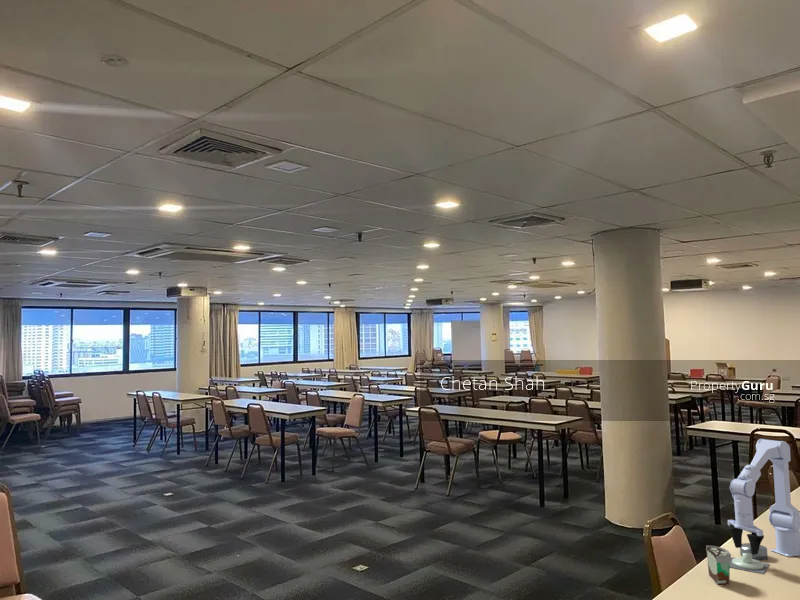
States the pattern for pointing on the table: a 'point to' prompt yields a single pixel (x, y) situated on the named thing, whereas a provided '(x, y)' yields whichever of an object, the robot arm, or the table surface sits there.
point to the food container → (718, 564)
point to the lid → (747, 562)
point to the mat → (750, 570)
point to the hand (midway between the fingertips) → (746, 550)
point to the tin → (760, 556)
